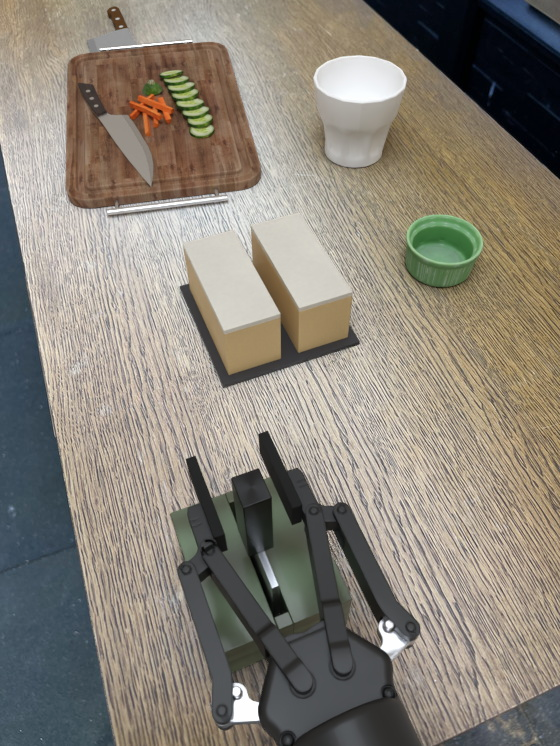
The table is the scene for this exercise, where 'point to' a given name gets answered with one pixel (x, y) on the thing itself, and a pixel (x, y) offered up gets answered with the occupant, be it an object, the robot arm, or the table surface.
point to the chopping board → (156, 127)
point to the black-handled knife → (257, 529)
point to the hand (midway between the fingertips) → (228, 454)
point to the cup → (357, 106)
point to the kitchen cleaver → (113, 33)
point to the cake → (266, 299)
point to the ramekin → (442, 249)
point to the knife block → (288, 568)
